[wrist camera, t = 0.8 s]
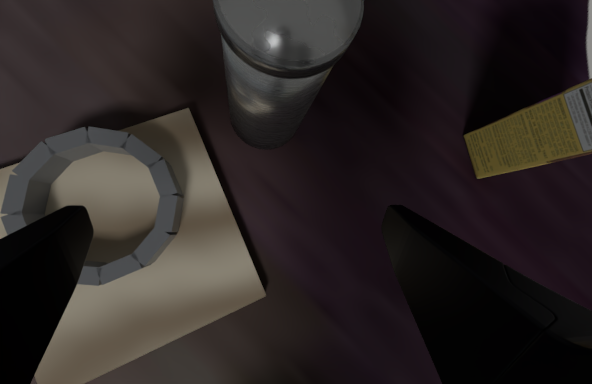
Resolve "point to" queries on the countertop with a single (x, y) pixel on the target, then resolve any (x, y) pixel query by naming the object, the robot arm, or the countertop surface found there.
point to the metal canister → (280, 60)
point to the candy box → (535, 134)
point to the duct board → (159, 275)
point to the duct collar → (52, 163)
